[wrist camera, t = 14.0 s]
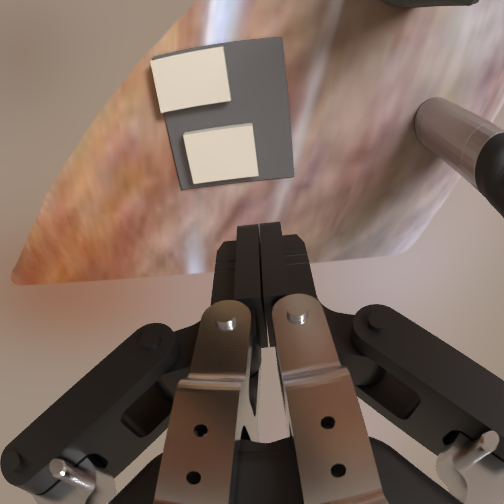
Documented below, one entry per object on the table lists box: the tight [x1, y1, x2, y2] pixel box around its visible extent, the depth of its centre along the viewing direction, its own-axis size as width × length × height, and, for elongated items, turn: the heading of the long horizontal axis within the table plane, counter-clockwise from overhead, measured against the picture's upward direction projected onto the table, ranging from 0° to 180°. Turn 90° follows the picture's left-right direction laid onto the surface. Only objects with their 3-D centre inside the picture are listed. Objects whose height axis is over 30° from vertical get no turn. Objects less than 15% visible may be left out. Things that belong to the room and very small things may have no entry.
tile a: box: [151, 46, 231, 113], centre depth 38 cm, size 2×8×10 cm
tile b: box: [183, 123, 259, 184], centre depth 46 cm, size 2×8×10 cm
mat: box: [153, 37, 294, 190], centre depth 43 cm, size 18×22×1 cm
